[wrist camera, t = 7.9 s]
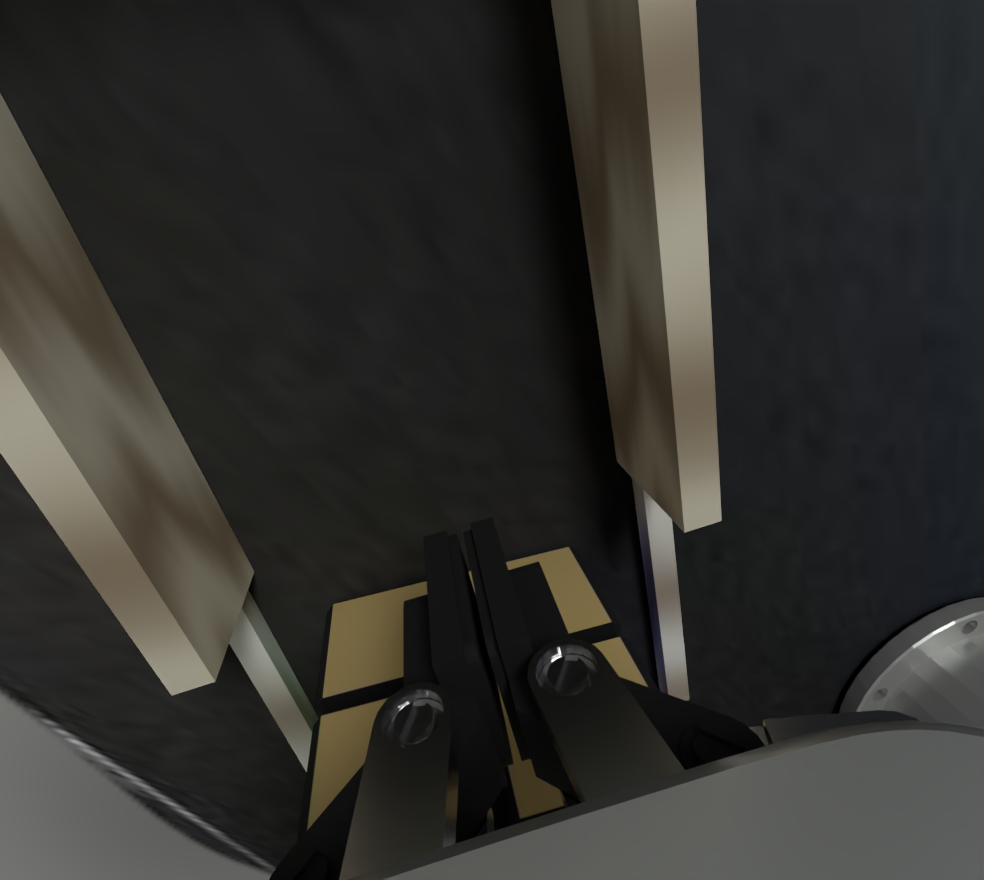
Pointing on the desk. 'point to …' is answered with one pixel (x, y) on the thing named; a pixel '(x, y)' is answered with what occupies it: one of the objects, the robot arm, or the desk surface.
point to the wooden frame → (177, 477)
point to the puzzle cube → (379, 674)
